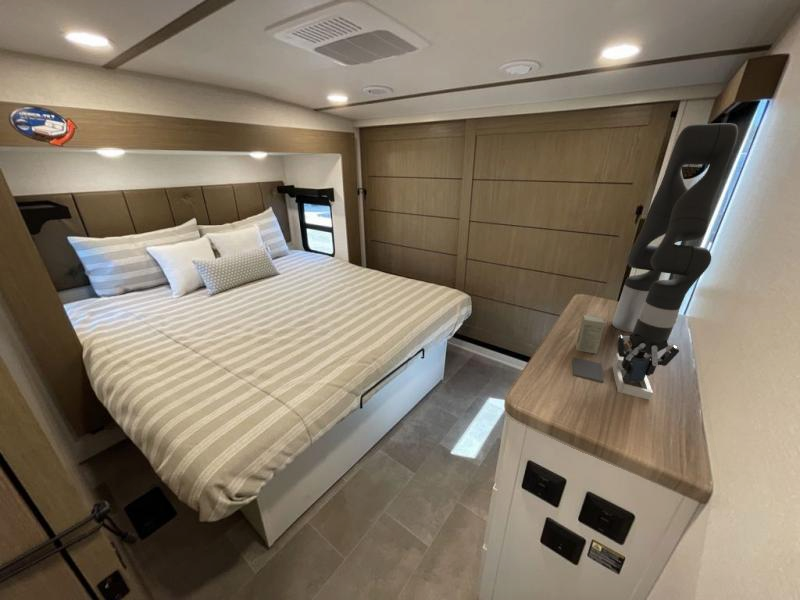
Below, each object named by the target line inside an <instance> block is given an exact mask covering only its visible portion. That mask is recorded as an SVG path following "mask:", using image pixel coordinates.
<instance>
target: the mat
mask: <svg viewBox="0 0 800 600" xmlns="http://www.w3.org/2000/svg"><path fill="white" fill-rule="evenodd" d="M572 370H573V374H572V375H573V376H575V377H579V378H584V379H588V380H590V381H591V380H592V381H596V382H600V383H604V382H605V379H604V374H603V369H602V363H600V362H596V361H593V360H587V359H583V358H579V357H574V356H573V357H572Z"/></svg>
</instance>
